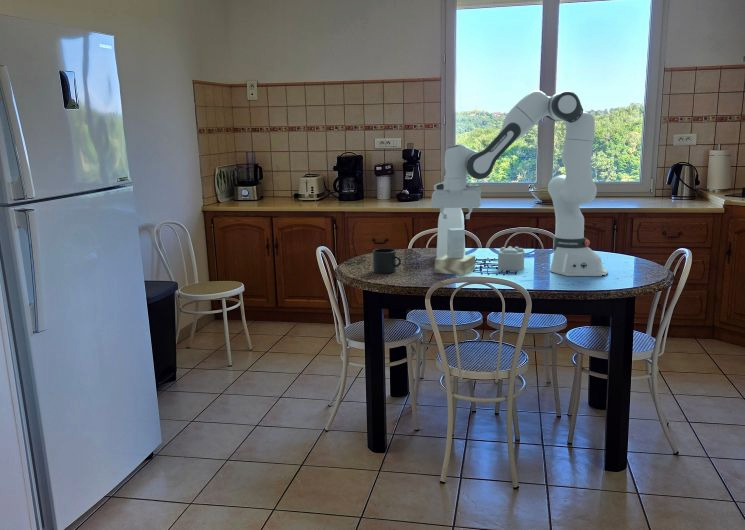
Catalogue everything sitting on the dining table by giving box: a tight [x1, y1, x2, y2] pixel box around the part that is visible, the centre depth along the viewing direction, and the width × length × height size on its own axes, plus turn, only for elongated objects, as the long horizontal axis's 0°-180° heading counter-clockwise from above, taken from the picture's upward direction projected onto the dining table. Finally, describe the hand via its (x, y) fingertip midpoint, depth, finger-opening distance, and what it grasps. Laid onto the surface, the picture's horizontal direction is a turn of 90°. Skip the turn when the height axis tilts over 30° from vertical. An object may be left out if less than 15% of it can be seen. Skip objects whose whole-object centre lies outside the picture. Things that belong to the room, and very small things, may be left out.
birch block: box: [434, 254, 476, 276], centre depth 272 cm, size 13×13×6 cm
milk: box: [435, 208, 466, 259], centre depth 299 cm, size 12×12×26 cm
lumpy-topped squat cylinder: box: [497, 245, 525, 272], centre depth 276 cm, size 10×13×9 cm
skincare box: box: [447, 228, 466, 259], centre depth 270 cm, size 6×4×12 cm
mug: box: [372, 248, 402, 275], centre depth 271 cm, size 9×12×9 cm
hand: (456, 218), depth 268 cm, fingers open, 8 cm apart
